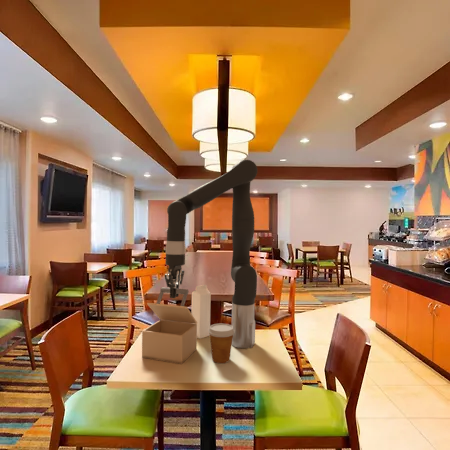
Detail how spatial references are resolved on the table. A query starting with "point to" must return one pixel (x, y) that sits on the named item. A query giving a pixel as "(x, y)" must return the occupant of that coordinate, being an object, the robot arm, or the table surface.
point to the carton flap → (172, 308)
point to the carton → (169, 341)
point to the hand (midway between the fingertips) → (174, 297)
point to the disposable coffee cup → (221, 342)
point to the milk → (201, 310)
